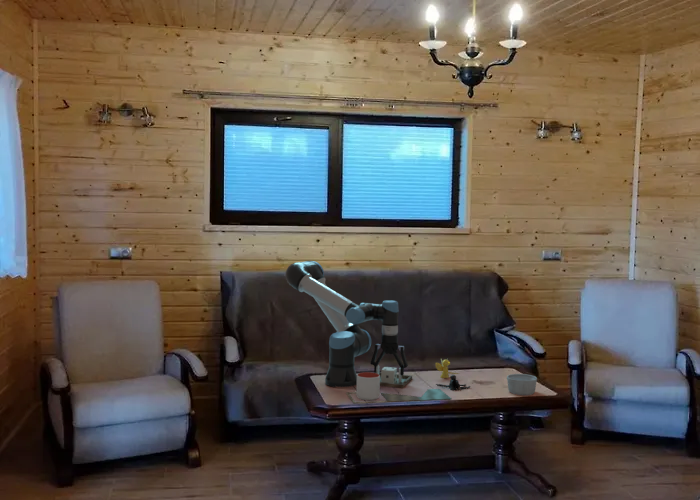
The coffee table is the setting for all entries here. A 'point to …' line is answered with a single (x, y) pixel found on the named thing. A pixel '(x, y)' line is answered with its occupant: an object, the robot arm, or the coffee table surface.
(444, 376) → the figurine
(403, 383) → the dice tray
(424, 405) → the coffee table surface
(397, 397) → the track
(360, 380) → the cup
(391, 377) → the die
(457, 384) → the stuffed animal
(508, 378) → the ramekin
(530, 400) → the coffee table surface
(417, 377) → the coffee table surface
